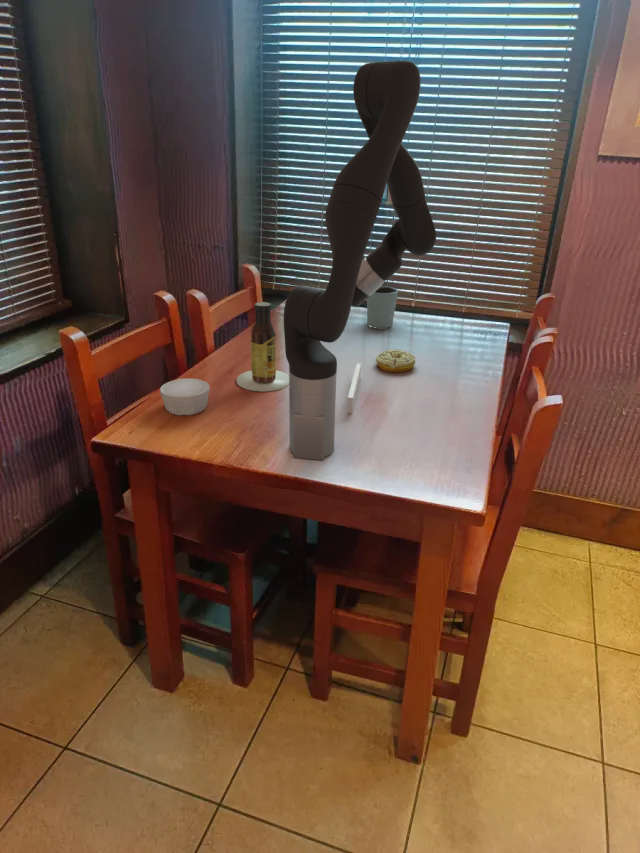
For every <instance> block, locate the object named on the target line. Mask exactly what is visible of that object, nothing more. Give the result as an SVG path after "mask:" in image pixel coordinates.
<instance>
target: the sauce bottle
mask: <svg viewBox="0 0 640 853" xmlns="http://www.w3.org/2000/svg"><path fill="white" fill-rule="evenodd" d="M271 310H272V304H271V303H270V302H267V301H261V302H260V301H259V302H255V303H254V311H255V314H254V315H255V319H254V321H255V322H254V325H253V326H252V328H251V332H250V338H251V340H250V352H251V353H250V354H251V356H250V357H251V359H250V360H251V371H252V378H253V380H254V381H255V382H257V383H270V382H272V381H274V380H275V375H276V370H277V341H276V340H277V339H276V337H277V336H276V332H275V330H274V329H275V328H274V326H273V324H272V320H271V319H272V318H271Z"/></svg>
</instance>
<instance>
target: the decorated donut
mask: <svg viewBox="0 0 640 853" xmlns="http://www.w3.org/2000/svg"><path fill="white" fill-rule="evenodd" d="M375 362H376V365H377V366H378V367H379V369H381V370H382V371H384V372H387V373H402V372H407V371H410V370H411V369H413V367H414V366H415V364H416V357H415V355H413V353H411V352H408V351H405V350H403V349H387V350H384V351H382V352H381V353H379V354H378V355H377V356H376V357H375Z"/></svg>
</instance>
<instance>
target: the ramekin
mask: <svg viewBox="0 0 640 853" xmlns="http://www.w3.org/2000/svg"><path fill="white" fill-rule="evenodd" d="M210 389H211V388H210V384H209V383H208V382H206V381H204V380H202V379H198V378H180V379H179V378H178V379H174V380H170V381H167V382H166V383H164V384H162V386H161V387H159V393H160V396H161V398H162V401H163V405H164V408H165V409H166V410H167V412H168V411H169V412H168V413H170V414H171V413H172V415H174V414H175V416H181V415H187V416H193V414H194V415H197V414H200V413H201V412H202V411H205V409H206V408H207V406H208V402H209V400H208V399H209V393H210V391H211V390H210ZM199 412H200V413H199Z"/></svg>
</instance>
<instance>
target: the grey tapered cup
mask: <svg viewBox="0 0 640 853" xmlns="http://www.w3.org/2000/svg"><path fill="white" fill-rule="evenodd" d="M398 295H399V290H398V288H395V287H392V286H385V285H381V286H380V287H379V288H378V289H377V290H376V291H375V292H374V293H373V294H372V295H370V296H369V297H368V298H367V299H366V307H367V308H366V325H367V324H368V325H370V326H372V327H376V328H388V327H391V326H392V327H393V325H394V317H395V312H396V305H397V299H398ZM368 325H367V326H368ZM392 327H391V328H392ZM388 329H389V328H388Z"/></svg>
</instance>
